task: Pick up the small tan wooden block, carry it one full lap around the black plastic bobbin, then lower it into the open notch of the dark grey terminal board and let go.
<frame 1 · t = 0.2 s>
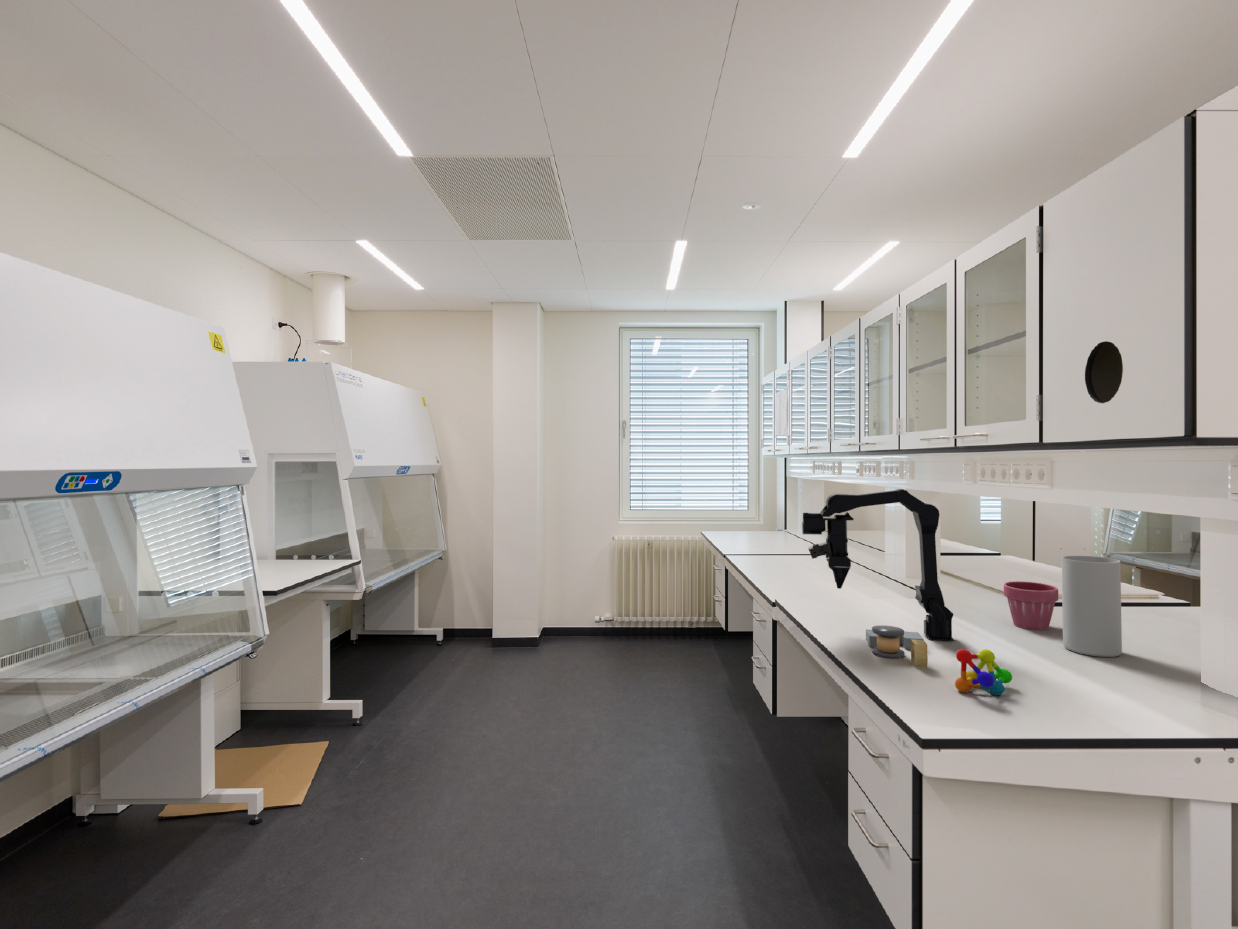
hand: (838, 585, 181), 15 cm above the table, fingers open, 9 cm apart
plant pot: (1031, 626, 185), on the table
tan wooden block: (919, 665, 151), on the table
notch board: (893, 644, 168), on the table
molecular model: (982, 691, 134), on the table
bobbin: (888, 653, 160), on the table
cylinder vase: (1091, 651, 160), on the table
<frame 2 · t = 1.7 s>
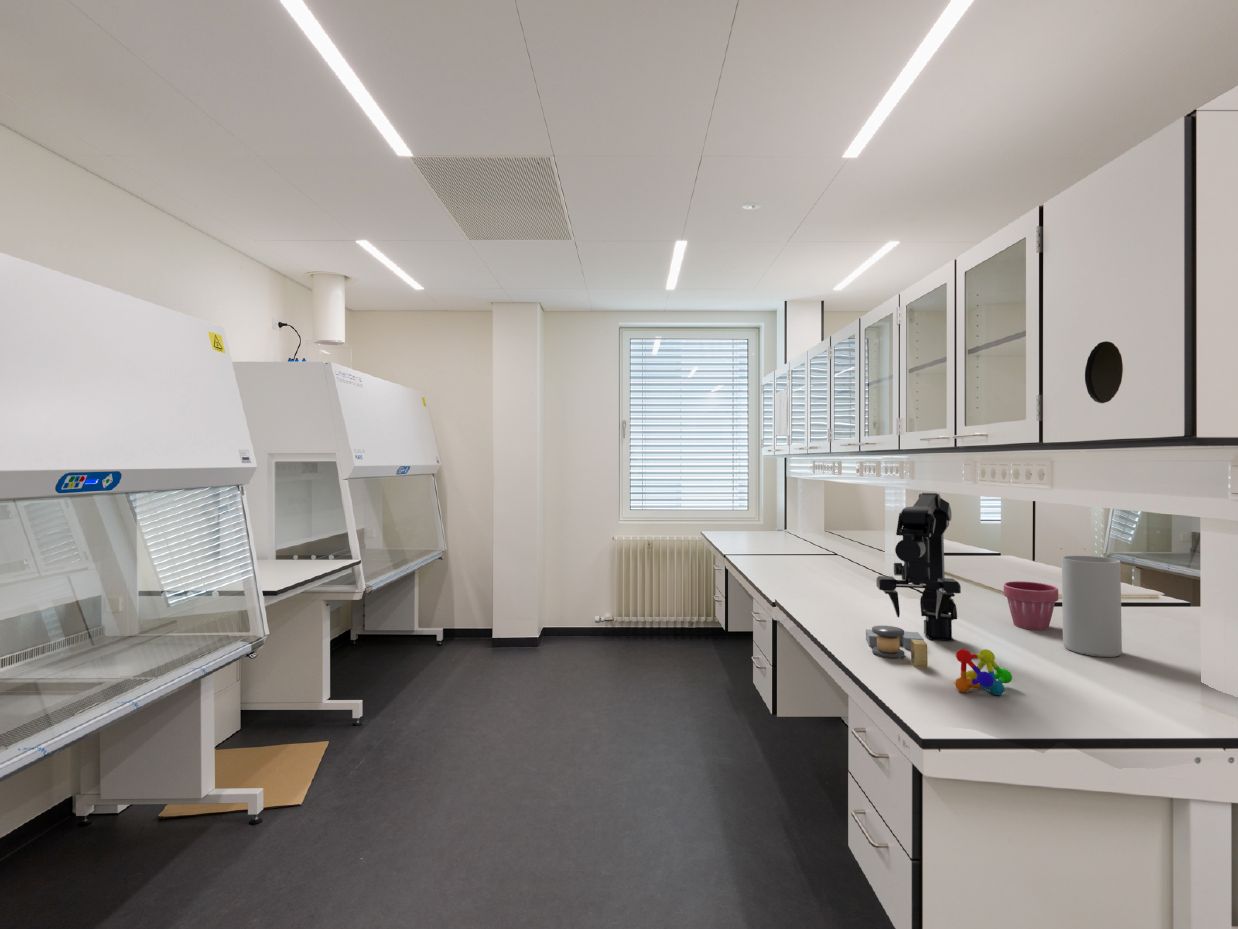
hand: (917, 618, 151), 12 cm above the table, fingers open, 9 cm apart
nothing on the table moved.
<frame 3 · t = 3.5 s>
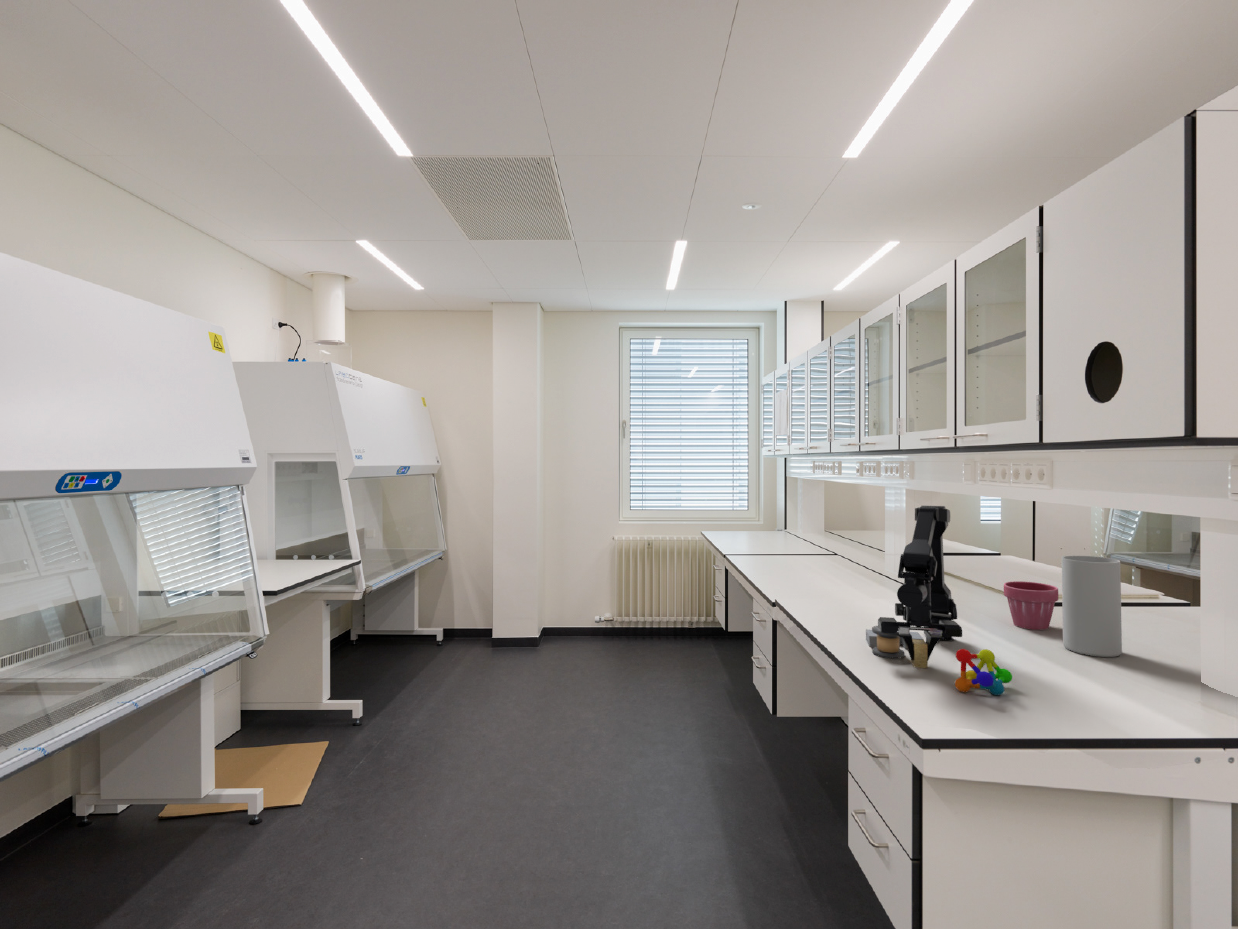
hand: (919, 660, 151), 1 cm above the table, fingers closed on tan wooden block, 3 cm apart
tan wooden block: (919, 665, 151), on the table, touching gripper
everything else where it was.
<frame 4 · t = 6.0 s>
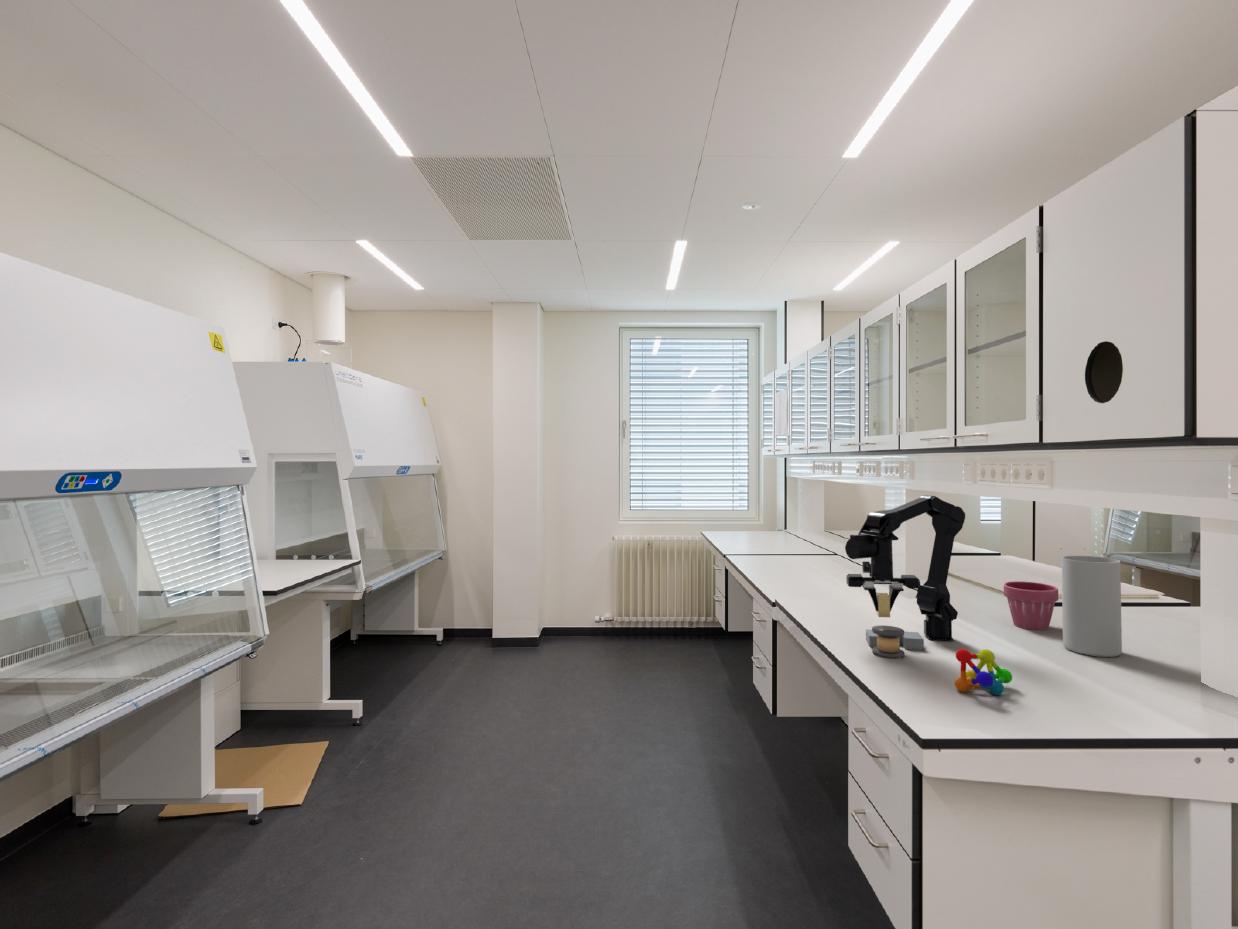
hand: (883, 611, 167), 10 cm above the table, fingers closed on tan wooden block, 3 cm apart
tan wooden block: (883, 615, 167), point 9 cm above the table, touching gripper
everything else where it was.
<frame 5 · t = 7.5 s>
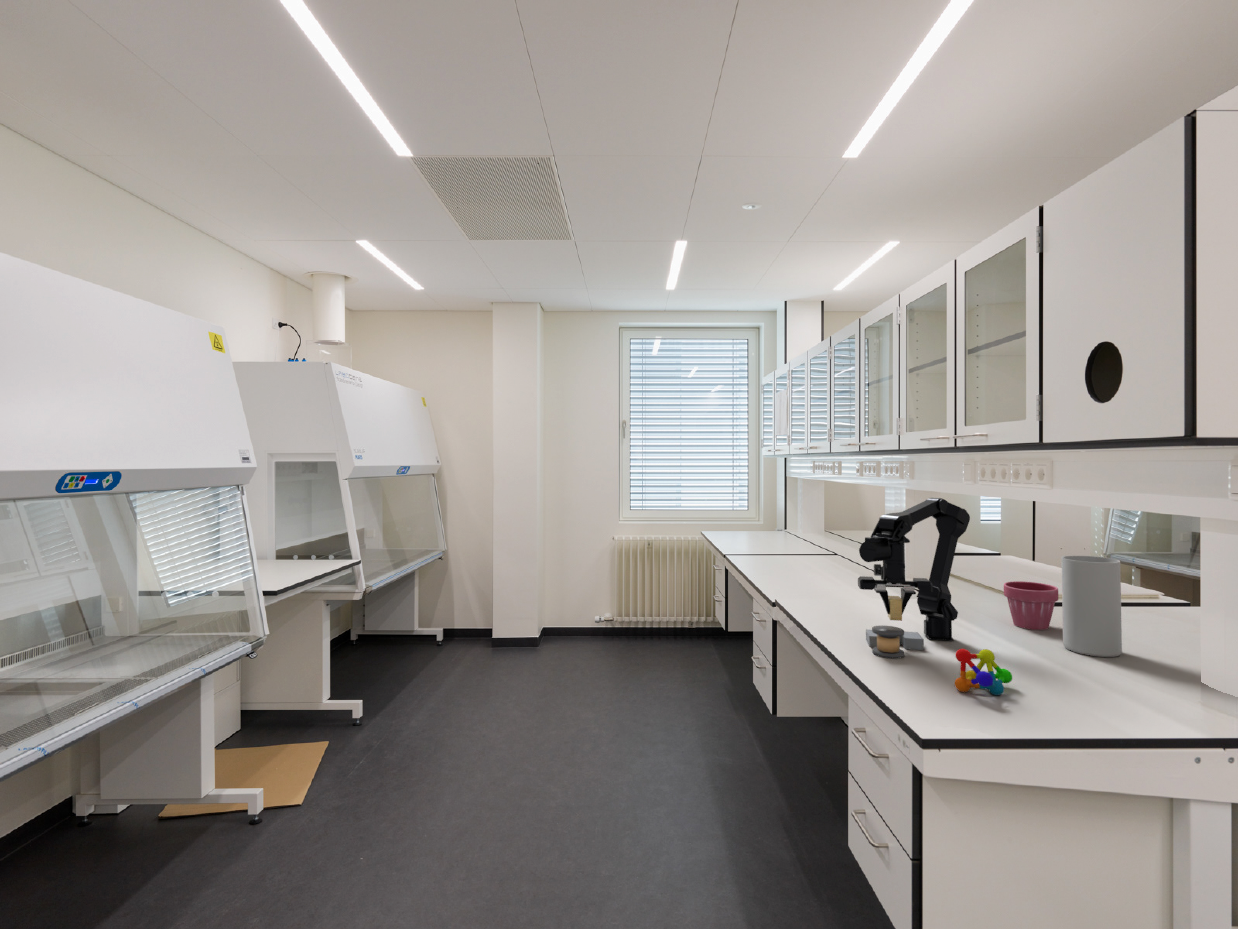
hand: (894, 614, 166), 9 cm above the table, fingers closed on tan wooden block, 3 cm apart
tan wooden block: (894, 618, 166), point 8 cm above the table, touching gripper
everything else where it was.
when the fingers open (4 cm above the table, at t = 8.6 s): tan wooden block drops 2 cm, on the table.
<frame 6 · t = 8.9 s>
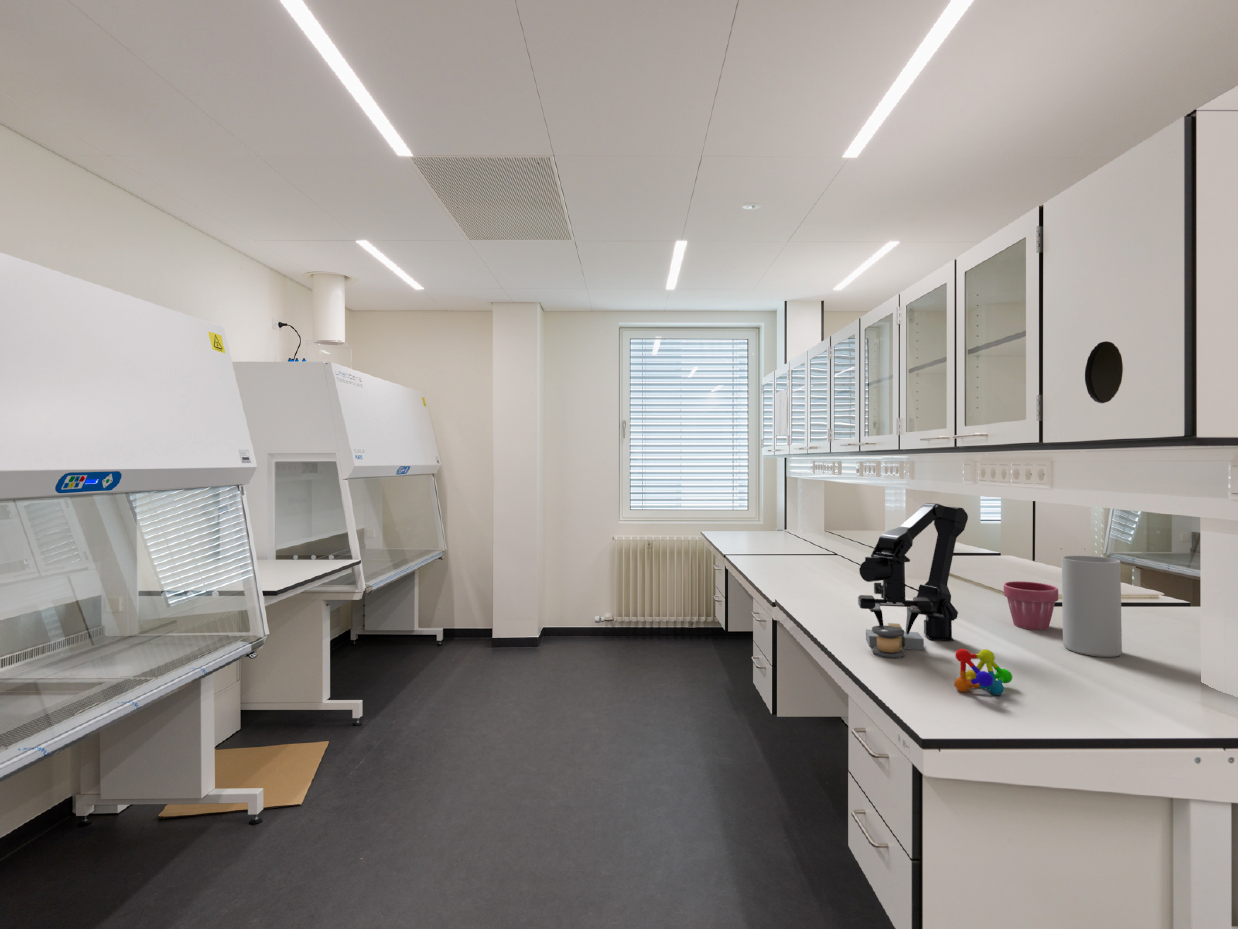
hand: (894, 633, 166), 4 cm above the table, fingers open, 6 cm apart
tan wooden block: (895, 646, 166), on the table
everything else where it was.
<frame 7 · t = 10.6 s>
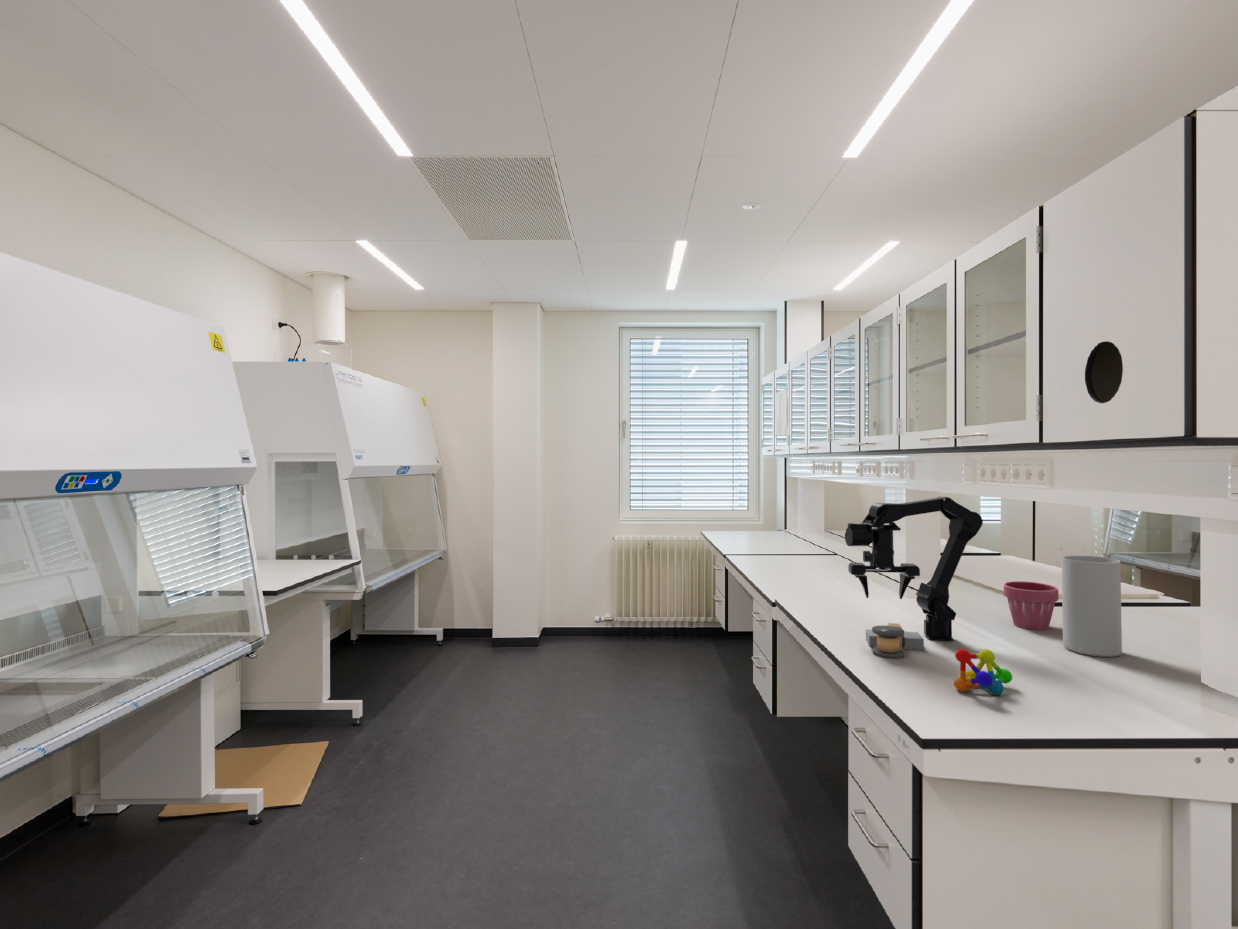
hand: (883, 598, 174), 12 cm above the table, fingers open, 9 cm apart
nothing on the table moved.
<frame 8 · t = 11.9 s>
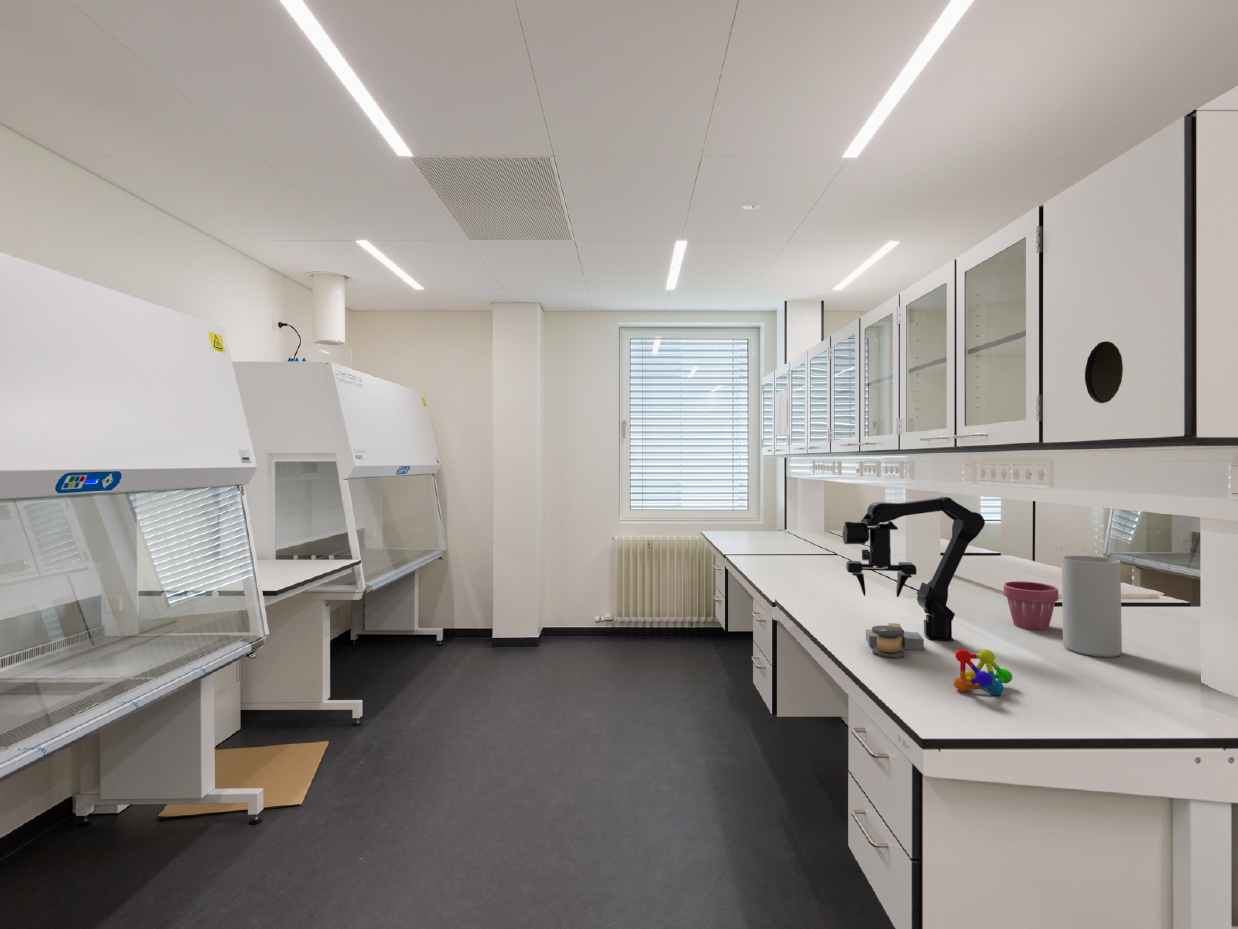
hand: (880, 596, 176), 12 cm above the table, fingers open, 9 cm apart
nothing on the table moved.
at the end: tan wooden block 0.1 cm from the target spot on the notch board, point 0.0 cm above the notch board's base; tan wooden block tilted 0°; the gripper is holding nothing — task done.
